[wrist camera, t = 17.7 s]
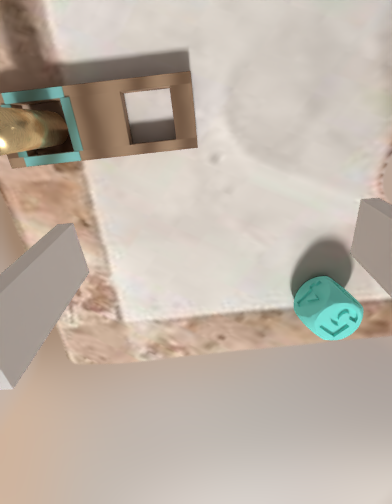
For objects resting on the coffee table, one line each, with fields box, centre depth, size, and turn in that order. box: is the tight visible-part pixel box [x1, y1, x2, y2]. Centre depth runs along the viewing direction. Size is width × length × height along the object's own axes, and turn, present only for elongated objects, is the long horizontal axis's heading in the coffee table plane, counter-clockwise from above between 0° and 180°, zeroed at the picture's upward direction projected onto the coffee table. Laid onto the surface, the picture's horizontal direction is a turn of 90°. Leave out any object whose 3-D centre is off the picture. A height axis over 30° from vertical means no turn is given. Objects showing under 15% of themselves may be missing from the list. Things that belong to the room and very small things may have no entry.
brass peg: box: [0, 107, 68, 155], centre depth 33 cm, size 4×4×14 cm
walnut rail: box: [0, 71, 198, 169], centre depth 38 cm, size 26×9×3 cm, turn 96°
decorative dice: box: [294, 276, 363, 340], centre depth 49 cm, size 8×8×8 cm
